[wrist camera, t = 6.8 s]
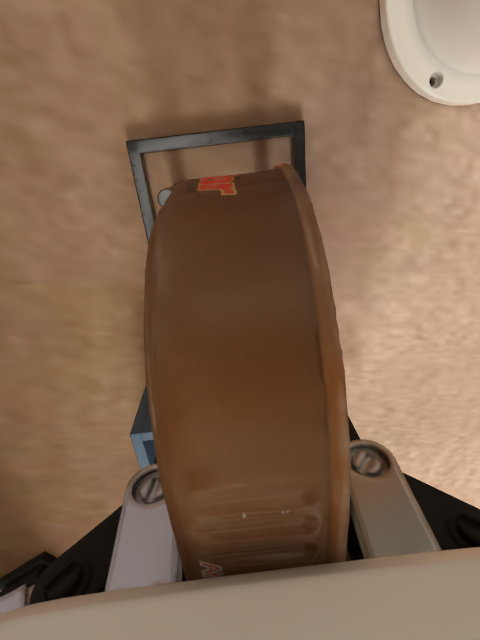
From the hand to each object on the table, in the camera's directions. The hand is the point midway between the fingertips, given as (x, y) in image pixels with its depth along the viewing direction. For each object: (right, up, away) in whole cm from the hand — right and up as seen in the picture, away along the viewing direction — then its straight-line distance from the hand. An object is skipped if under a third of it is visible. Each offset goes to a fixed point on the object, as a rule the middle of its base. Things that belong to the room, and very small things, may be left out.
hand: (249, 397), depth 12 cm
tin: (0, +1, +2) cm, 2 cm away
